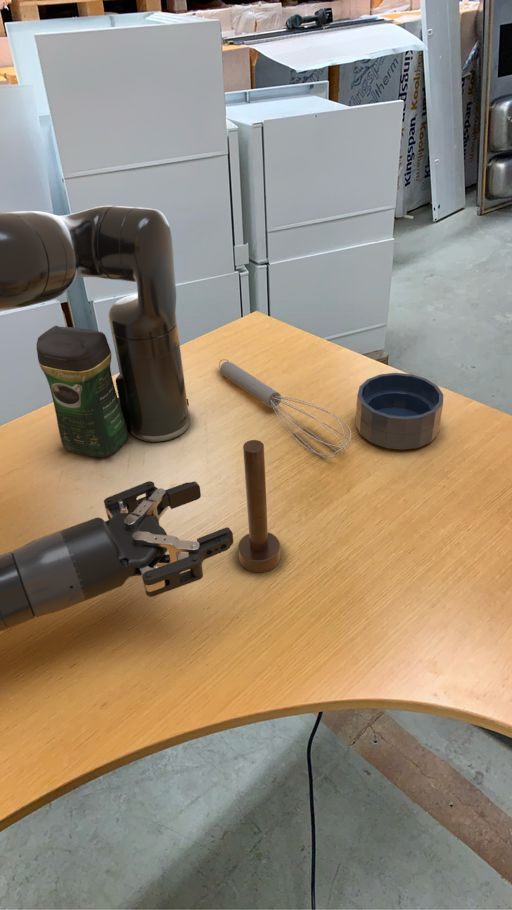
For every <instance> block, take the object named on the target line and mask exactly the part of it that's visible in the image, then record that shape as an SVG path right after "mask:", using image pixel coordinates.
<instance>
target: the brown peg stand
mask: <svg viewBox="0 0 512 910" xmlns="http://www.w3.org/2000/svg"><path fill="white" fill-rule="evenodd" d="M242 450H243V467H244V479H245V493H246V495H245V496H246V508H247V523H248V533H247V534H245V535H244V536H243V537H241V539H240V540H239V542H238V545H237V548H238V559H239V563H240V564H241V566H242V567H243V568H244V569H246V570H247V571H248V572H252V573H266V572H269V571H271V570H273V569H274V568H276V567H277V566H278V564H279V563H280V560H281V543H280V540H279V538H278V537H277V536H276V535H274V534H273V533H271V532H269V529H268V527H269V526H268V507H267V506H268V505H267V486H266V485H267V483H266V465H265V463H266V462H265V445H264V443H263V441H261V440H258V439H250V440H248V441H246V442H244V443H243V445H242Z"/></svg>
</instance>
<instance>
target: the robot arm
mask: <svg viewBox="0 0 512 910" xmlns="http://www.w3.org/2000/svg"><path fill="white" fill-rule="evenodd" d="M173 246H174V245H173V237H172V231H171V227H170V224H169V221H168V219H167V218H166V216H165V215H164V213H162V212H161V211H160V210H159V209H155V208H148V207H139V206H138V207H137V206H125V205H124V206H122V205H99V206H96V207H92V208H88V209H84V210H81V211H78V212H73V213H69V214H65V215H57V214H53V213H51V212H46V211H44V212H43V211H35V210H19V211H0V311H7V310H8V311H9V310H15V309H20V308H21V309H22V308H26V307H29V306H34V305H39V304H42V303H45V302H48V301H52V300H54V299H56V298H58V297H60V296H62V295H63V294H65V293H66V292H67V291H68V290H69V289H70V288H71V287H72V286H73V283H74V282H75V280H76V278H77V279H78V278H98V279H106V280H113V281H121V282H131V283H132V282H133V283H136V289H137V293H133V294H129V295H127V296H124V297H121V298H120V299H119V300H117V301H116V302H114V303H112V305H111V306H110V307H109V311H108V323H109V328H110V333H111V337H112V341H113V346H114V351H115V357H116V363H117V366H118V372H119V374H118V375H117V377H116V378H115V388H116V393H117V397H118V401H119V404H120V407H121V410H122V413H123V416H124V420H125V423H126V427H127V431H128V434H131V435H133V436H134V438H137V439H138V440H141V441H145V442H151V443H157V442H159V443H160V442H165V441H170V440H173V439H175V438H177V437H180V436H181V435H183V434H184V433H185V432H186V431H188V428H189V427H190V424H191V417H190V413H189V412H190V411H189V406H190V403H189V399H188V398H187V391H186V390H187V389H186V383H185V382H186V381H185V376H184V369H183V360H182V353H181V346H180V345H181V344H180V336H179V331H178V323H177V313H176V311H177V288H176V287H177V286H176V277H175V275H176V274H175V261H174V259H175V258H174V247H173ZM155 485H156V484H155V482H153V481H151V480H150V481H146V482H143V483H140V484H138V485H135V486H133V487H130V488H128V489H126V490H123V491H120V492H118V493H115V494H113V495H110V496H107V497H106V498H105V499H104V500H103V505H104V509H105V513H106V516H107V519H108V520H104V519H103V518H102V517H99V516H98V517H93V518H92V519H89V520H86V521H83V522H81V523H78V524H75V525H72V526H69V527H67V528H64V529H61V530H59V531H56V532H53V533H50V534H47V535H45V536H41V537H39V538H36V539H34V540H32V541H30V542H28V543H26V544H24V545H22V546H20V547H18V548H16V549H13V550H12V551H8V552H6V553H5V552H4V553H3V554H0V633H1V632H4V631H7V630H10V629H12V628H14V627H17V626H19V625H22V624H25V623H27V622H30V621H32V620H35V619H36V618H39V617H43V616H46V615H51V614H54V613H57V612H60V611H64V610H66V609H68V608H71V607H73V606H76V605H78V604H81V603H83V602H85V601H88V600H90V599H94V598H96V597H98V596H101V595H103V594H106V593H108V592H110V591H113V590H115V589H118V588H121V587H122V586H124V585H125V584H126V581H127V580H129V579H130V578H132V577H141V579H142V582H143V586H144V591H145V595H146V596H147V597H150V598H152V597H156V596H158V595H161V594H164V593H167V592H169V591H173V590H175V589H178V588H180V587H183V586H186V585H188V584H192V583H194V582H197V581H200V580H202V578H203V577H204V571H203V563H204V561H205V560H206V559H209V558H212V557H214V556H216V555H219V554H221V553H224V552H226V551H228V550H229V549H230V548H231V547H232V545H233V544H234V533H233V531H232V530H231V529H230V527H223V528H220V529H218V530H215V531H213V532H210V533H207V534H206V535H204V536H203V535H202V536H200V537H199V538H196V540H187V539H179V538H178V536H175V535H169V534H167V531H166V530H165V529H164V528H163V527H162V526H161V525H160V519H161V517H162V516H163V515H164V514H165V513H166V512H167V510H168V509H170V510H173V509H176V508H179V507H181V506H184V505H187V504H189V503H192V502H194V501H197V500H199V499H200V498H201V496H202V493H201V486H200V485H199V484H198V482H197V481H189V482H184V483H181V484H178V485H176V486H172V487H170V488H167V489H164V488H158V487H156V486H155ZM142 495H145V496H143V497H141V498H138V497H140V496H142ZM137 498H138V499H137ZM167 552H168V554H166V553H167Z"/></svg>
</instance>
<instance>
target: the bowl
mask: <svg viewBox="0 0 512 910" xmlns="http://www.w3.org/2000/svg"><path fill="white" fill-rule="evenodd" d="M357 390H358V391H357V395H356V396H357V397H356V411H355V427H356V429H357V431H358V433H359V434H360V436H361V437H363V438H364V439H366V440H367V441H368V442H369V443H370V444H371V443H372V444H374V445H376V446H379V447H382V448H384V449H393V450H401V451H402V450H403V451H404V450H411V449H419V448H421V447H423V446H426V445H428V444H430V443H432V442H433V440H434V439H435V438H436V437H437V436H438V435H439V430H440V425H441V420H442V414H443V407H444V406H443V405H444V393H443V391H442V390H441V388H440V387H439V386H438V385H437V384H435V383H434V382H432V381H431V380H430V379H427V378H425V377H422V376H419V375H416V374H413V373H404V372H403V373H401V372H389V373H380V374H378V375H375V376H372V377H369V378H367V379H366V380H365V381H364V382H362V383H361V385H360V386H359V387H358V389H357Z"/></svg>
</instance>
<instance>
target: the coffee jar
mask: <svg viewBox="0 0 512 910" xmlns="http://www.w3.org/2000/svg"><path fill="white" fill-rule="evenodd" d="M36 353H37V361H38V365H39V367H40V369H41V371H42V372H43V374H44V376H45V379H46V381H47V383H48V386H49V390H50V393H51V398H52V402H53V407H54V412H55V416H56V422H57V428H58V433H59V438H60V442H61V444H62V447H63V448H64V449H66V450H67V451H69V452H72V453H75V454H78V455H82V456H87V457H94V458H104V457H108V456H109V455H112V454H114V453H115V452H117V451H118V450H120V448H122V447H123V445H124V444H125V442H126V441H127V439H128V437H129V433H128V431H127V427H126V423H125V420H124V416H123V413H122V410H121V407H120V404H119V401H118V398H119V396H118V393H117V389H116V386H115V384H114V380H113V376H112V370H111V363H112V350H111V347H110V344H109V342H108V338H107V337H106V335H105V333H104V332H102V331H99V330H91V329H85V328H79V327H71V326H59V325H54V326H52V327H50V328H49V329H47V330H46V331H44V332H43V333H42V334H40V335H39V336H38V337H37V341H36Z"/></svg>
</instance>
